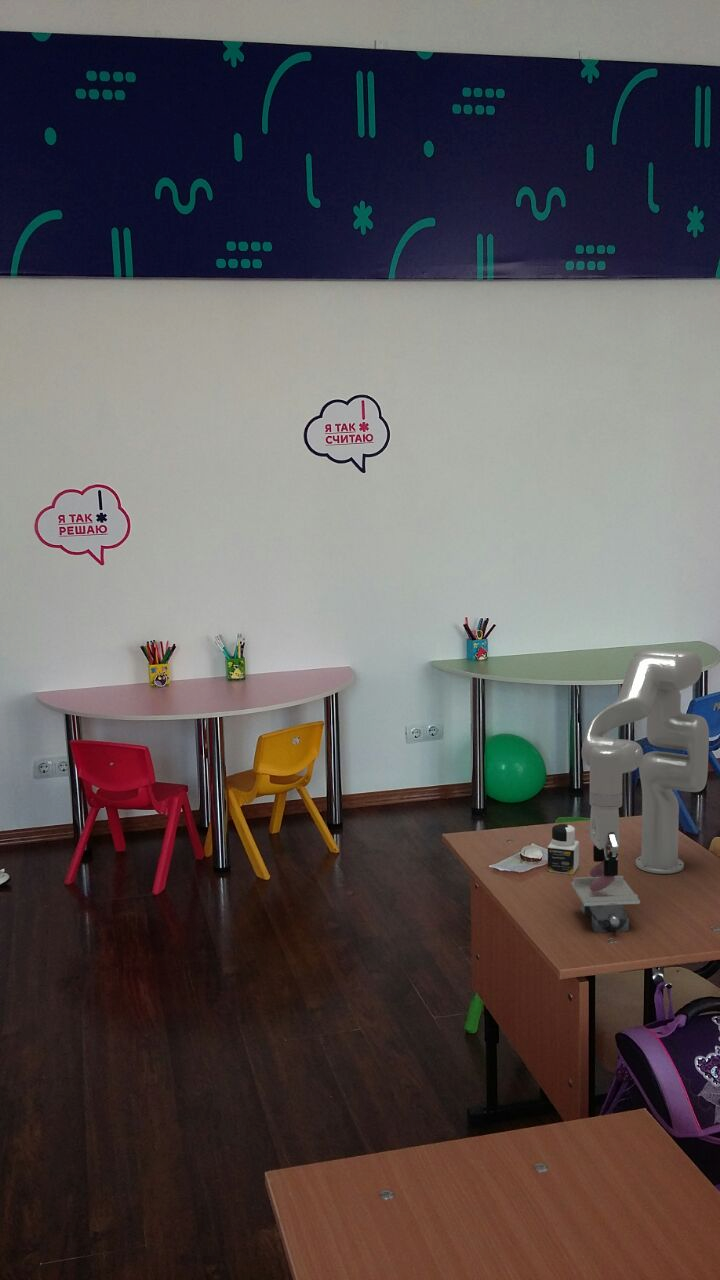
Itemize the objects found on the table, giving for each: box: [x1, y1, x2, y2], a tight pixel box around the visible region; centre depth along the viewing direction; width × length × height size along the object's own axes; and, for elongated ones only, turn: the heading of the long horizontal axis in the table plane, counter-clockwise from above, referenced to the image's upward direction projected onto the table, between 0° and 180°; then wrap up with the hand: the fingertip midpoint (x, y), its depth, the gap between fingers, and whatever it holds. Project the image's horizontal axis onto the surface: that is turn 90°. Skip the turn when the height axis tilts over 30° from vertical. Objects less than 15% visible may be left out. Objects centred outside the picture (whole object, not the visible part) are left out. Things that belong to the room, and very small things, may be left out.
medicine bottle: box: [547, 823, 580, 875], centre depth 299 cm, size 7×7×12 cm
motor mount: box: [570, 875, 641, 933], centre depth 263 cm, size 16×13×9 cm
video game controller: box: [589, 860, 616, 891], centre depth 264 cm, size 10×5×7 cm, turn 169°
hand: (605, 868), depth 263 cm, fingers closed on video game controller, 9 cm apart
